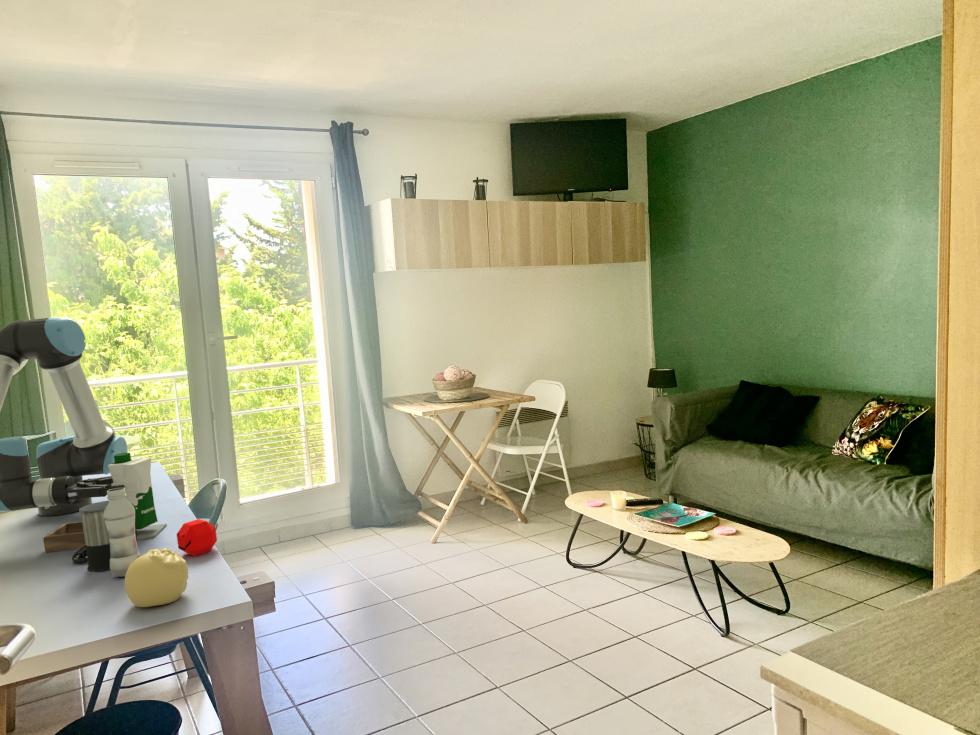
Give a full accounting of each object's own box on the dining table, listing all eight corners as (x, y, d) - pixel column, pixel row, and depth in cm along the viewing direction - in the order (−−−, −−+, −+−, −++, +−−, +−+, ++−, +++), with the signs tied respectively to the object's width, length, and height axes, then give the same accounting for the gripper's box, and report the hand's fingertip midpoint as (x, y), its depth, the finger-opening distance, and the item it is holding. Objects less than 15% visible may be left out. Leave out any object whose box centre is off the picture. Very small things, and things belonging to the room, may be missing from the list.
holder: (66, 537, 204) (64, 523, 204) (115, 531, 206) (113, 517, 206) (45, 552, 191) (43, 537, 191) (97, 545, 193) (95, 531, 193)
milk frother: (118, 570, 172) (110, 509, 170) (51, 577, 172) (41, 515, 170) (145, 549, 186) (137, 492, 185) (82, 556, 186) (74, 498, 184)
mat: (125, 530, 205) (125, 528, 205) (166, 525, 207) (166, 523, 207) (111, 543, 194) (110, 541, 194) (154, 537, 196) (154, 535, 196)
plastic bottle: (120, 570, 171) (108, 487, 170) (148, 568, 171) (137, 484, 169) (105, 581, 165) (93, 494, 163) (134, 579, 165) (122, 492, 163)
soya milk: (134, 521, 205) (125, 451, 204) (163, 520, 204) (154, 449, 202) (112, 531, 197) (102, 458, 195) (142, 530, 195) (132, 456, 193)
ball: (175, 555, 180) (171, 524, 179) (206, 544, 186) (202, 515, 185) (191, 560, 174) (187, 529, 174) (222, 549, 180) (218, 519, 180)
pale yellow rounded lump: (197, 600, 149) (191, 548, 148) (133, 619, 142) (126, 565, 141) (184, 585, 158) (178, 536, 157) (123, 602, 151) (116, 551, 150)
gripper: (75, 495, 208) (158, 485, 211) (39, 516, 186) (132, 505, 189) (71, 469, 207) (155, 459, 210) (35, 487, 186) (128, 476, 189)
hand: (144, 481), depth 200 cm, fingers closed on soya milk, 9 cm apart
